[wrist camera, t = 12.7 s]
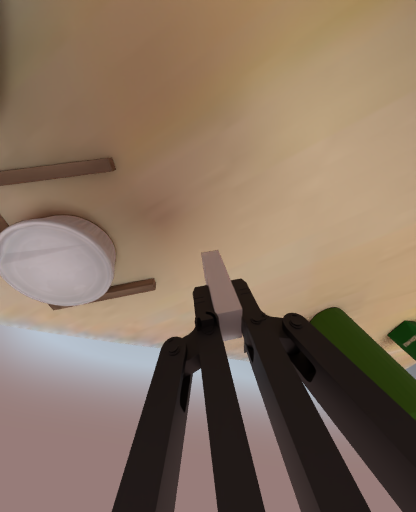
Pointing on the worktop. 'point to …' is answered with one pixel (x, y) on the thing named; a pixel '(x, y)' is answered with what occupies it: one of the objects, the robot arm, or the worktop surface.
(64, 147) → the worktop surface
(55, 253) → the ramekin
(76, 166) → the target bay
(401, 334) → the milk carton
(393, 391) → the wine bottle
